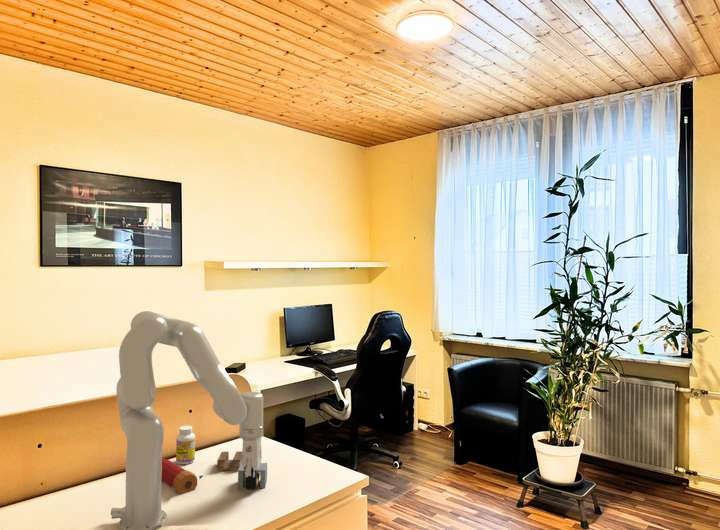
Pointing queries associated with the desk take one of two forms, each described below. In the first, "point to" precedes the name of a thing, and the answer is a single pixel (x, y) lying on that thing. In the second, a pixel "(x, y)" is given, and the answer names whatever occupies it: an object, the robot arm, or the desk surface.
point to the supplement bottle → (185, 445)
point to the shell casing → (178, 477)
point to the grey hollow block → (261, 469)
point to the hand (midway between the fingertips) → (251, 488)
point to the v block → (229, 462)
